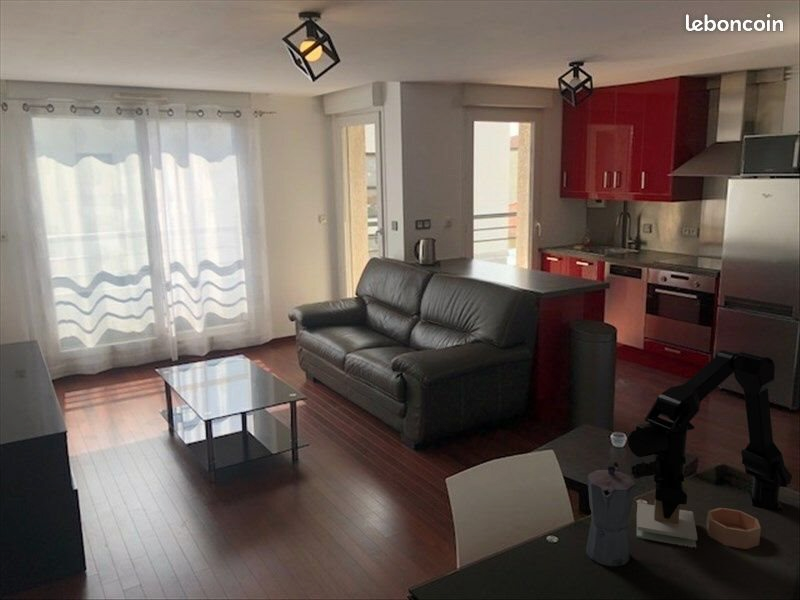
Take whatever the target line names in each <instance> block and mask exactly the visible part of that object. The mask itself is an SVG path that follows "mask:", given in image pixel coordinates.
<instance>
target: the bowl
mask: <svg viewBox="0 0 800 600" xmlns="http://www.w3.org/2000/svg"><path fill="white" fill-rule="evenodd" d="M706 516H707V518H706V527H707V528H706V532H707V535H708V537H709V536H710V537H709V538H711V539H712V538H713V540H714V539H715V540H714V541H716V540H717V541H716V542H718V541H719V542H718V543H720V544H721V543H722V545H723V546H725V545H726V547H732V548H738V549H744V550H748V549H751V548H754V547H757V546H760V539H761V530H762V528H761V525H760V524H761V523H760V522H759V520H758V518H756V517H755V516H752V515H750V514H748V513H745V512H744V511H742V510H739V509H732V508H724V507H718V508H715V509H710V510H708V511H707V515H706Z"/></svg>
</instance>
